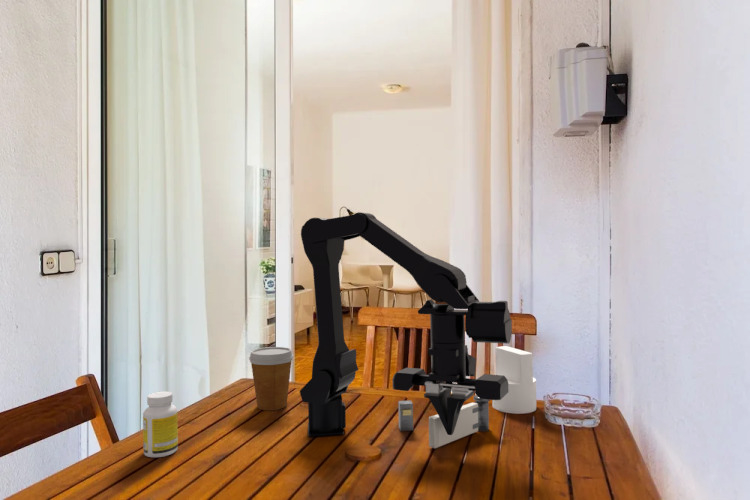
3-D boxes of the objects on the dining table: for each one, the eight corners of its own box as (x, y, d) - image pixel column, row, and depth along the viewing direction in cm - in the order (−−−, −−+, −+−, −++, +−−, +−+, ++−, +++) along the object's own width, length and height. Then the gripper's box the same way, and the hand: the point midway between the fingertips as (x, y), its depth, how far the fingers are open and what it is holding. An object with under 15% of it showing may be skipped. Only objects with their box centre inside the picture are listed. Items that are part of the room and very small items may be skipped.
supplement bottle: (184, 448, 92) (183, 391, 92) (162, 460, 87) (161, 400, 87) (159, 444, 94) (158, 389, 93) (136, 456, 88) (135, 397, 88)
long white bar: (472, 429, 98) (472, 402, 98) (478, 431, 97) (478, 403, 97) (429, 446, 90) (428, 417, 90) (434, 448, 89) (434, 419, 89)
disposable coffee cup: (258, 399, 120) (257, 346, 120) (299, 400, 119) (298, 346, 119) (242, 412, 111) (241, 355, 111) (286, 413, 110) (285, 355, 110)
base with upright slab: (483, 403, 115) (483, 348, 115) (517, 398, 118) (517, 344, 118) (510, 416, 106) (509, 356, 106) (545, 409, 110) (545, 352, 110)
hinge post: (476, 432, 97) (476, 399, 97) (471, 426, 100) (471, 395, 100) (492, 431, 98) (492, 398, 98) (487, 425, 101) (486, 394, 101)
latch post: (400, 431, 98) (400, 404, 98) (398, 427, 101) (398, 401, 101) (413, 431, 98) (413, 404, 98) (411, 426, 101) (410, 400, 101)
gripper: (515, 336, 92) (517, 427, 92) (416, 332, 101) (418, 414, 101) (498, 347, 82) (500, 448, 82) (390, 340, 91) (392, 432, 91)
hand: (450, 434), depth 89 cm, fingers closed
